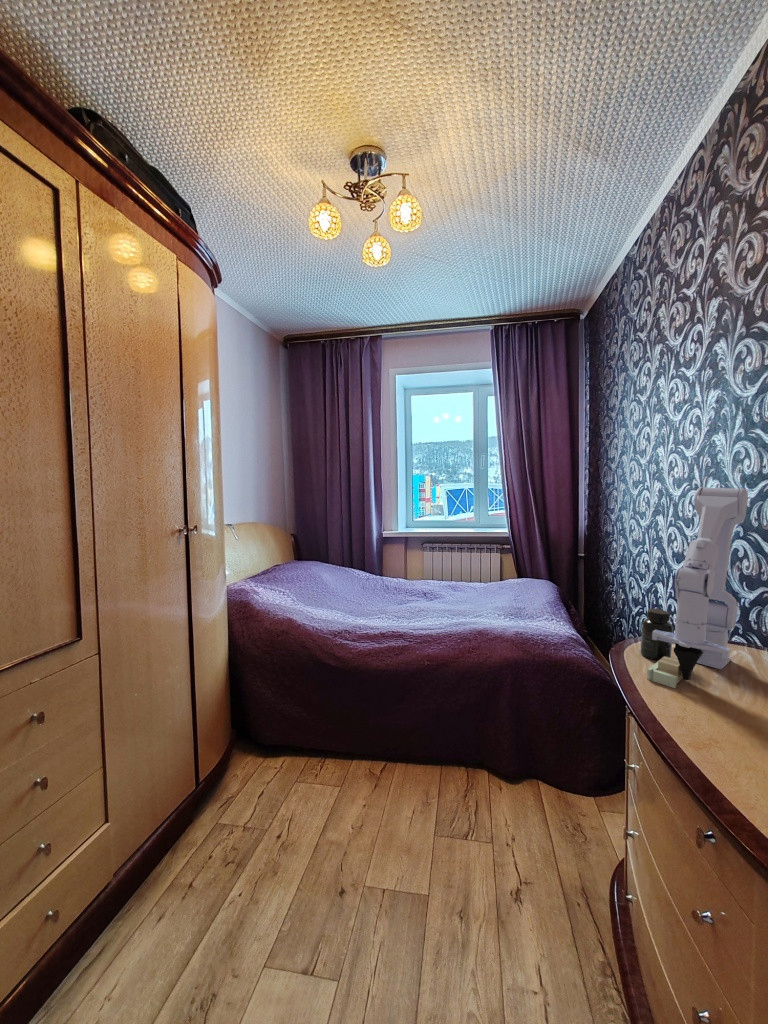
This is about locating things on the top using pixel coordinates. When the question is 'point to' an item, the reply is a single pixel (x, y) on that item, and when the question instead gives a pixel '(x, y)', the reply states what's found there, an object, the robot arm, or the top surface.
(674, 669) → the birch block
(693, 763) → the top surface
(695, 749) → the top surface
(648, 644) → the supplement bottle
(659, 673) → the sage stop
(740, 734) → the top surface
